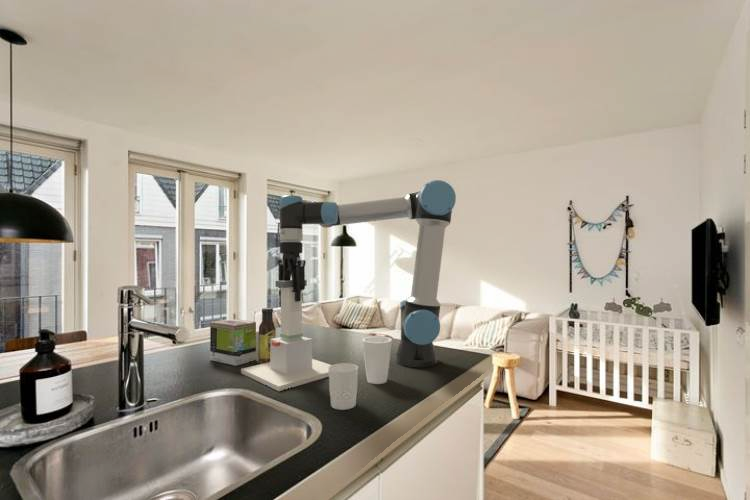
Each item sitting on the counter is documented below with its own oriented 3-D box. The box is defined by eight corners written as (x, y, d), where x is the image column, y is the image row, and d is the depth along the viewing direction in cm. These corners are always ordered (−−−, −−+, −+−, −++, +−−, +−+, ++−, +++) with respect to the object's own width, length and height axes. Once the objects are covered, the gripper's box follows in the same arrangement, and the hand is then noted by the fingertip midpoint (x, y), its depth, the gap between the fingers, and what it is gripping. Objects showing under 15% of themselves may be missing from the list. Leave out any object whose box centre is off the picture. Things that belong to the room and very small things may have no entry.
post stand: (341, 372, 128) (341, 338, 128) (278, 391, 110) (278, 352, 111) (300, 358, 144) (300, 328, 145) (241, 373, 127) (241, 339, 127)
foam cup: (395, 377, 123) (395, 337, 123) (387, 387, 114) (387, 344, 114) (368, 374, 126) (368, 335, 126) (357, 383, 117) (357, 341, 117)
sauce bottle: (270, 364, 137) (270, 310, 137) (254, 363, 138) (254, 309, 138) (278, 359, 143) (278, 307, 144) (263, 358, 145) (263, 307, 145)
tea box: (257, 360, 143) (257, 321, 143) (234, 367, 135) (234, 325, 135) (231, 354, 151) (231, 317, 151) (209, 360, 143) (209, 321, 143)
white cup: (329, 399, 104) (329, 363, 104) (357, 398, 105) (357, 362, 105) (328, 411, 96) (327, 372, 96) (358, 410, 97) (358, 371, 97)
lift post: (307, 344, 129) (306, 280, 129) (283, 349, 122) (283, 281, 123) (298, 341, 133) (298, 279, 133) (275, 346, 126) (275, 280, 126)
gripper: (267, 242, 132) (267, 308, 131) (296, 240, 119) (296, 314, 119) (286, 242, 137) (286, 306, 137) (316, 241, 124) (316, 311, 124)
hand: (291, 310), depth 128 cm, fingers open, 5 cm apart
